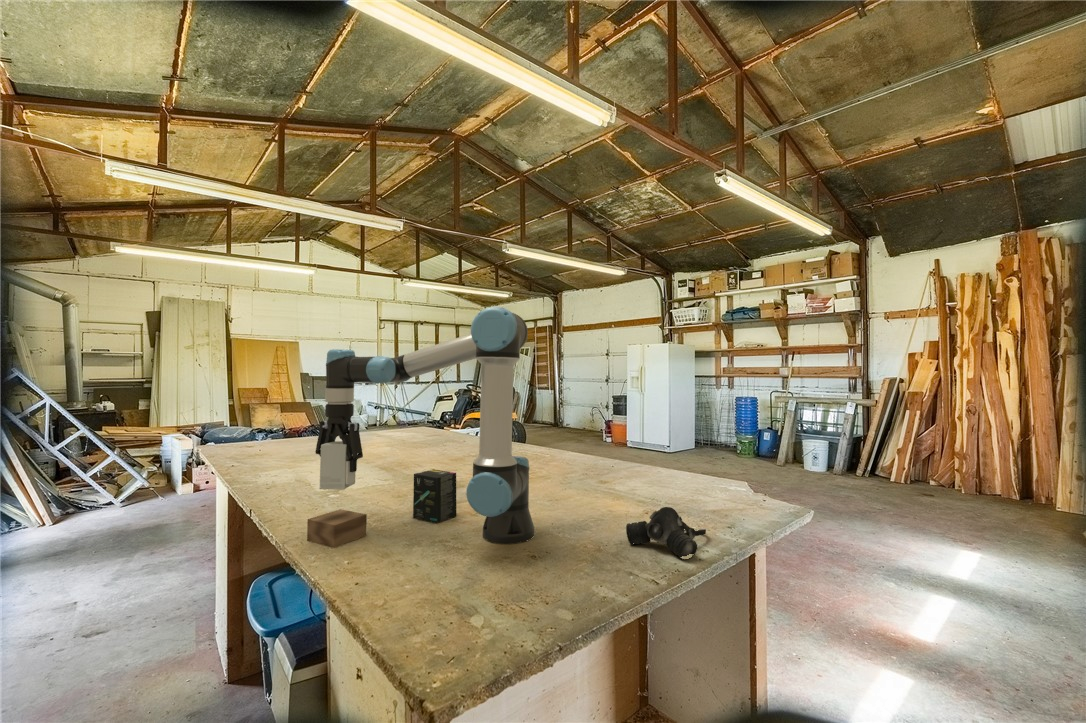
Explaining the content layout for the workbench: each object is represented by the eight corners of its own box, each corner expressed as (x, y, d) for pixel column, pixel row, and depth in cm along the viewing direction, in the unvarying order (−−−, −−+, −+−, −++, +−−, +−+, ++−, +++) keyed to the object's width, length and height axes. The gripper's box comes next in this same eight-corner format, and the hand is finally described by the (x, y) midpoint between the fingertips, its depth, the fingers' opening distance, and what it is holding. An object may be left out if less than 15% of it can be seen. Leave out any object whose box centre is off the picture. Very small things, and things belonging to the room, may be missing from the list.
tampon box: (457, 516, 153) (457, 472, 153) (436, 524, 145) (437, 477, 146) (433, 511, 159) (433, 468, 159) (412, 518, 151) (413, 473, 152)
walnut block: (366, 535, 135) (366, 514, 135) (333, 547, 125) (334, 525, 125) (340, 529, 140) (340, 509, 140) (307, 540, 130) (307, 519, 130)
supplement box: (344, 490, 129) (345, 444, 130) (318, 489, 129) (319, 444, 130) (356, 483, 137) (357, 440, 137) (331, 483, 137) (332, 440, 137)
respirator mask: (616, 535, 128) (635, 487, 135) (647, 567, 140) (663, 521, 147) (685, 555, 114) (701, 500, 122) (713, 589, 126) (726, 537, 134)
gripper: (377, 403, 132) (376, 483, 131) (325, 401, 142) (323, 474, 141) (356, 405, 125) (354, 488, 125) (302, 402, 135) (300, 479, 135)
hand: (338, 481), depth 133 cm, fingers closed on supplement box, 9 cm apart
